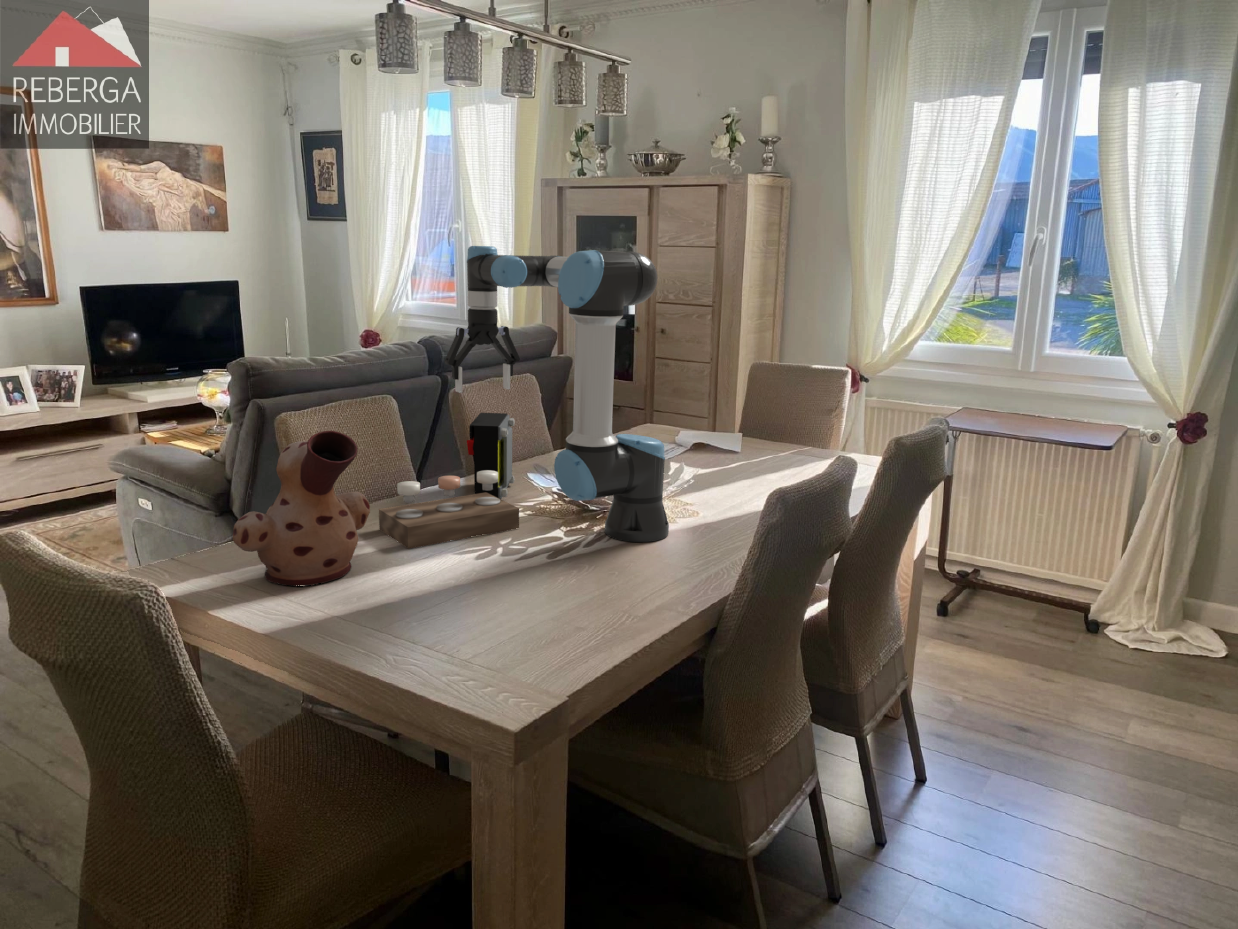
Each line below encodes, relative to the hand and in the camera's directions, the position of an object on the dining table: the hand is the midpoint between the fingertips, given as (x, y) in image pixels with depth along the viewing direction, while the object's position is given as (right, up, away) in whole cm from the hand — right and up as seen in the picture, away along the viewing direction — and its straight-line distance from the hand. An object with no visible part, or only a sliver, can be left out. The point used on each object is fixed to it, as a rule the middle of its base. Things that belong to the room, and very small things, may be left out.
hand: (483, 390), depth 240 cm
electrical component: (+1, -27, +8) cm, 28 cm away
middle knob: (-4, -26, -26) cm, 37 cm away
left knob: (-12, -28, -32) cm, 44 cm away
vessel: (-25, -42, -55) cm, 74 cm away
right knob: (+4, -25, -20) cm, 33 cm away
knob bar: (-4, -34, -24) cm, 42 cm away
